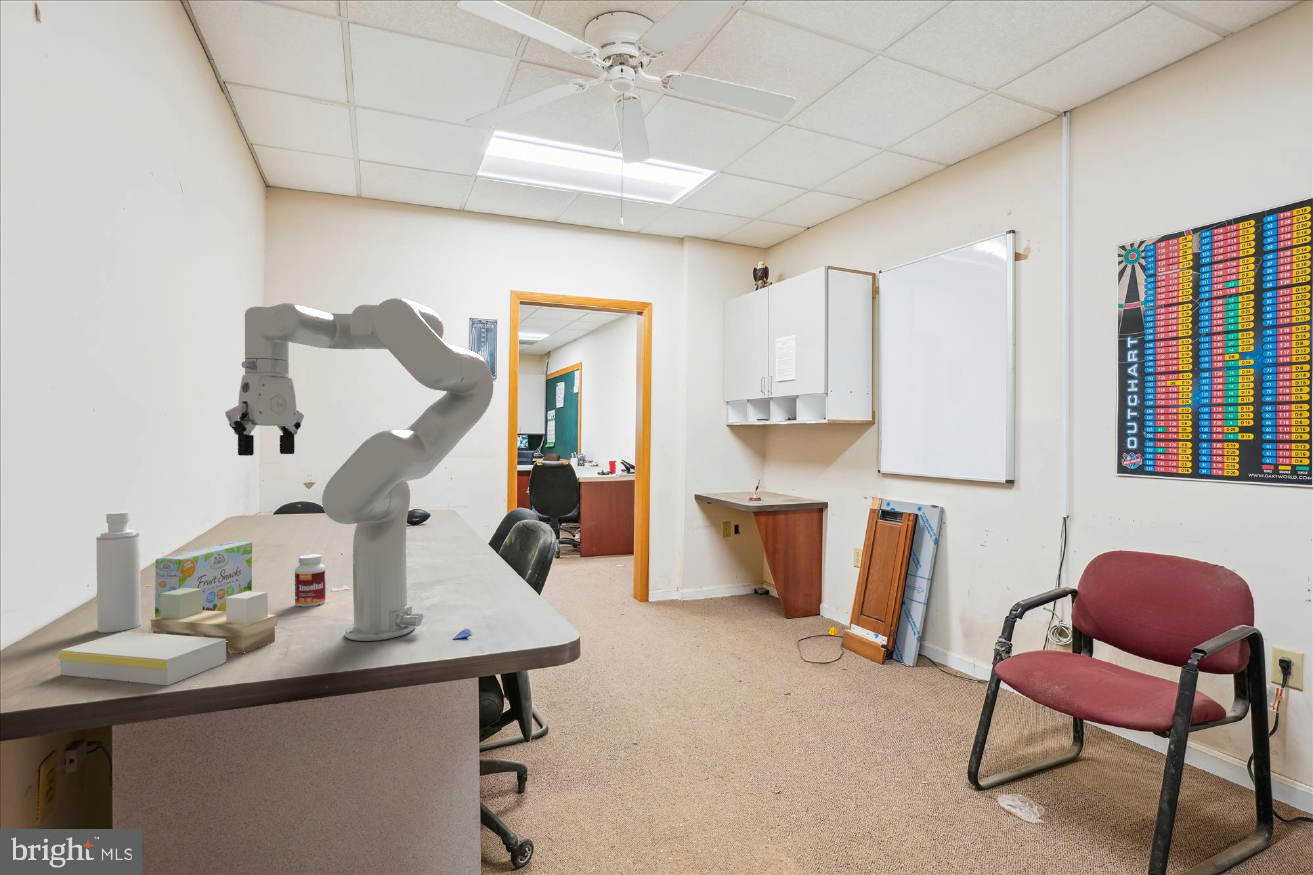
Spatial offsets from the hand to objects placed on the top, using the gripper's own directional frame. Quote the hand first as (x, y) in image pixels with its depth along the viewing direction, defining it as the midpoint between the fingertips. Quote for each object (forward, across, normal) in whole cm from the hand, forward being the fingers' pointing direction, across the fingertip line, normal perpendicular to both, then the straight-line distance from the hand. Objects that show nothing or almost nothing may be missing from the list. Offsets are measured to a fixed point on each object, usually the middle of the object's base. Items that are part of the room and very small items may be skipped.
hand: (267, 454), depth 127 cm
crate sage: (+30, -11, +8) cm, 33 cm away
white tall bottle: (+35, -7, +30) cm, 47 cm away
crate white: (+30, -11, -7) cm, 32 cm away
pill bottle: (+35, +16, +5) cm, 39 cm away
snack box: (+35, +1, +17) cm, 39 cm away
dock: (+35, -23, 0) cm, 42 cm away
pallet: (+35, -11, +1) cm, 36 cm away
